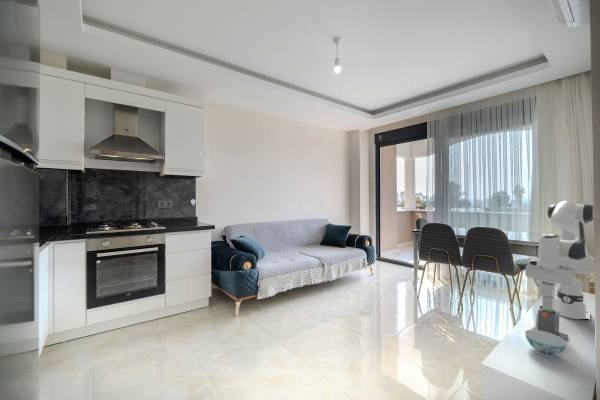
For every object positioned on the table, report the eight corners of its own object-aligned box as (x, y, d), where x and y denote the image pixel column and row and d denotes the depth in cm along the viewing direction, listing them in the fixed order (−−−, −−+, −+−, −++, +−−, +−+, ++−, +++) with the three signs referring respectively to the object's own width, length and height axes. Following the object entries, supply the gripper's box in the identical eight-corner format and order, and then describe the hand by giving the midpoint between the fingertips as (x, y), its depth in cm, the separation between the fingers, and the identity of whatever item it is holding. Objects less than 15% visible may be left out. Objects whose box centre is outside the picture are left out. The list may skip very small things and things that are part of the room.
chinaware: (571, 356, 128) (571, 339, 128) (560, 366, 120) (560, 349, 120) (531, 341, 141) (531, 327, 141) (519, 350, 133) (519, 334, 133)
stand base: (537, 327, 156) (537, 304, 156) (568, 337, 145) (568, 312, 145) (528, 333, 149) (528, 309, 149) (560, 344, 138) (560, 318, 138)
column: (544, 319, 150) (545, 280, 150) (555, 323, 146) (556, 282, 146) (541, 321, 148) (541, 281, 148) (552, 325, 144) (553, 284, 144)
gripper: (577, 267, 140) (577, 293, 140) (528, 259, 157) (528, 283, 157) (574, 268, 136) (573, 296, 136) (524, 260, 154) (523, 284, 154)
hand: (548, 289), depth 147 cm, fingers open, 8 cm apart
